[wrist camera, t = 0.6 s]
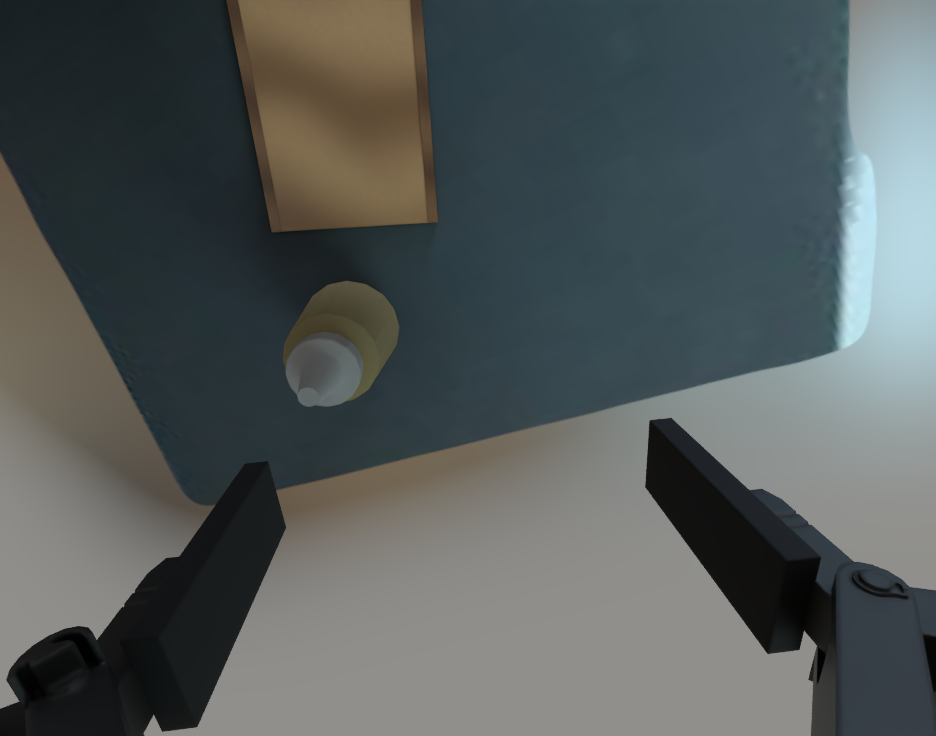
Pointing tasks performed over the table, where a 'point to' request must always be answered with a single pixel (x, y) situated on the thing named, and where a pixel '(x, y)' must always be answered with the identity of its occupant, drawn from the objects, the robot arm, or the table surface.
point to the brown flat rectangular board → (338, 110)
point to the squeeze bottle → (339, 344)
